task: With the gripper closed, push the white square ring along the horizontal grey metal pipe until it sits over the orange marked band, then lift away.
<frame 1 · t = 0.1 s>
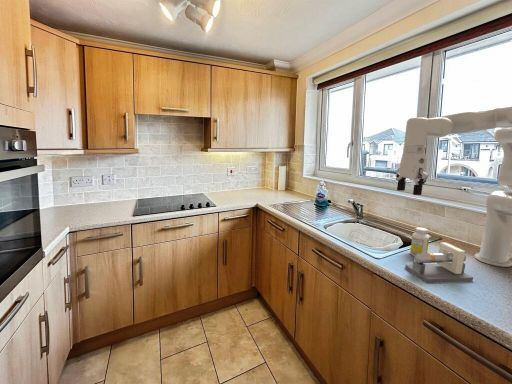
hand: (408, 192, 109), 31 cm above the worktop, tool pointing down, fingers open, 9 cm apart
base board: (437, 274, 106), on the worktop
supplement bottle: (418, 255, 124), on the worktop
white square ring: (450, 257, 105), point 7 cm above the worktop, slide at 0.0 cm
pipe: (439, 262, 105), on the base board, point 5 cm above the worktop
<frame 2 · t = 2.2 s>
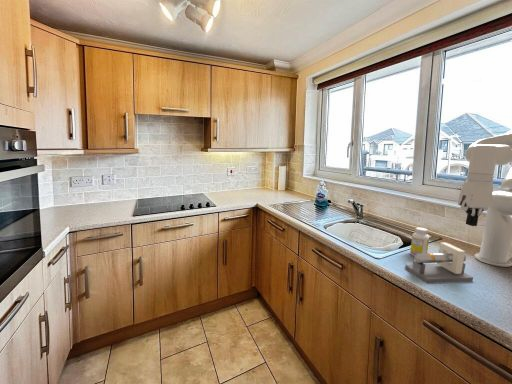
hand: (471, 225, 103), 20 cm above the worktop, tool pointing down, fingers closed
nothing on the worktop moved.
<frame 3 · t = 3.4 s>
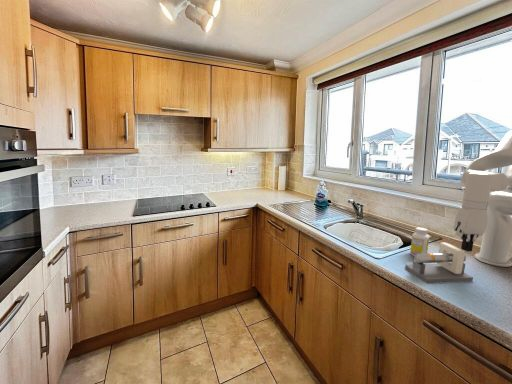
hand: (466, 250, 105), 10 cm above the worktop, tool pointing down, fingers closed
nothing on the worktop moved.
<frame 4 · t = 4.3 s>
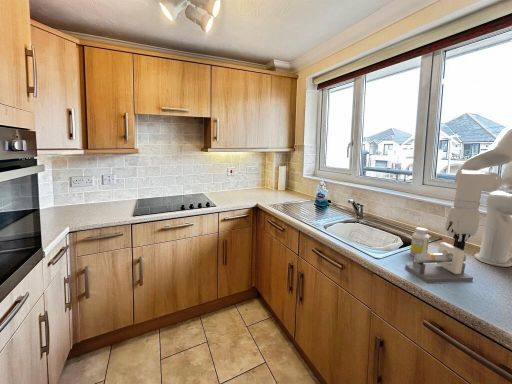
hand: (458, 250, 105), 10 cm above the worktop, tool pointing down, fingers closed
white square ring: (450, 257, 105), point 7 cm above the worktop, slide at 0.1 cm, touching gripper
everything else where it was.
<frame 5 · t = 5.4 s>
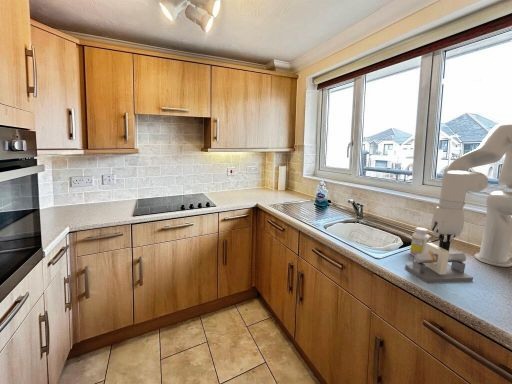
hand: (443, 250, 104), 10 cm above the worktop, tool pointing down, fingers closed
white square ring: (435, 257, 105), point 7 cm above the worktop, slide at 6.4 cm, touching gripper
everything else where it was.
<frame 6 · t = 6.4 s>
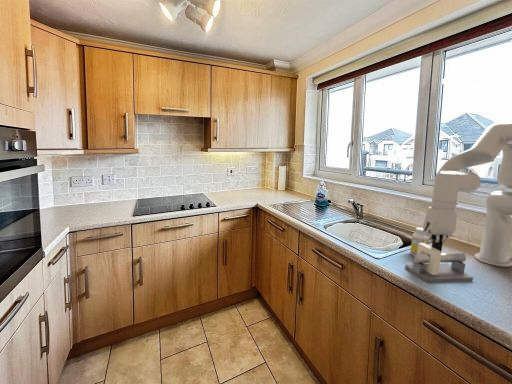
hand: (436, 250, 104), 10 cm above the worktop, tool pointing down, fingers closed
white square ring: (427, 258, 104), point 7 cm above the worktop, slide at 9.6 cm, touching gripper
everything else where it was.
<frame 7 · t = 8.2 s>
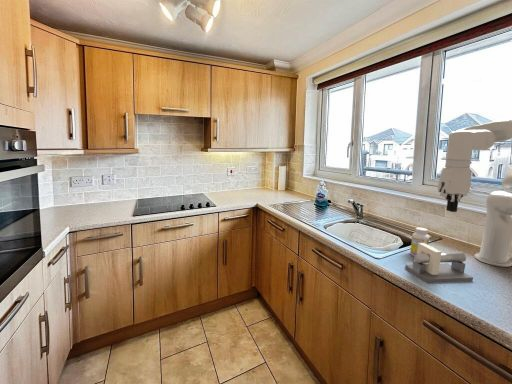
hand: (451, 210, 105), 25 cm above the worktop, tool pointing down, fingers closed
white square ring: (427, 258, 104), point 7 cm above the worktop, slide at 9.6 cm
everything else where it was.
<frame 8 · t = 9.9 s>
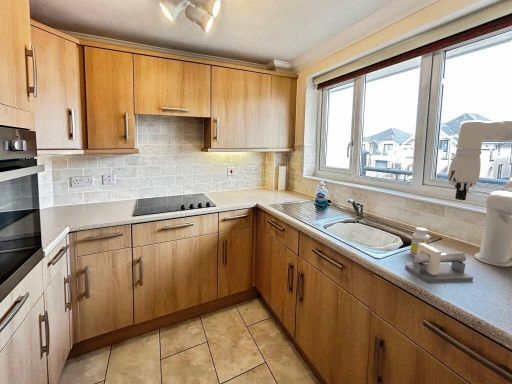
hand: (460, 199, 108), 29 cm above the worktop, tool pointing down, fingers closed
nothing on the worktop moved.
at the end: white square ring slide at 9.6 cm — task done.
